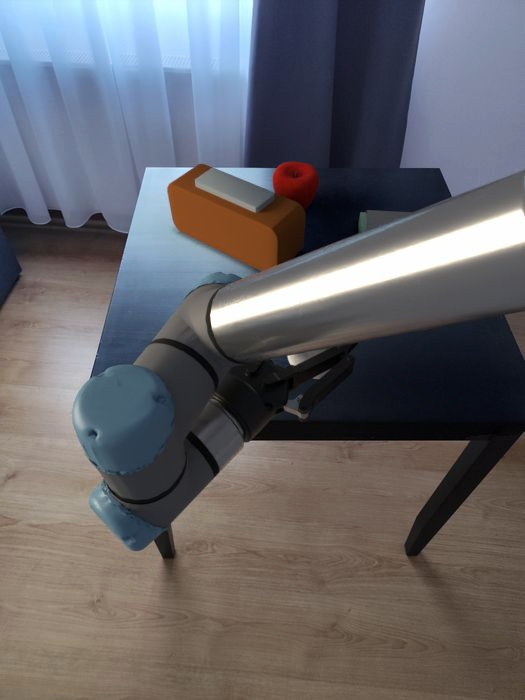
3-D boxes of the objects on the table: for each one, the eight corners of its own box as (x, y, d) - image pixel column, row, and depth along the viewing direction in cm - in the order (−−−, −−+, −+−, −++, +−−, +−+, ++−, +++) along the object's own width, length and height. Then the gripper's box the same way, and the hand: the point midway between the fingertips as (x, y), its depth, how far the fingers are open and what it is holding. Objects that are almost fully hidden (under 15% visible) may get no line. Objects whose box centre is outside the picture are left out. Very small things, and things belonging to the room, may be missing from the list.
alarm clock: (303, 254, 86) (307, 198, 77) (276, 280, 81) (278, 224, 72) (201, 207, 94) (195, 153, 86) (173, 229, 90) (163, 174, 81)
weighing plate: (433, 251, 82) (434, 248, 81) (368, 247, 82) (368, 244, 82) (426, 215, 88) (427, 213, 87) (366, 212, 88) (366, 209, 88)
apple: (262, 205, 95) (262, 168, 89) (294, 187, 99) (296, 152, 92) (294, 225, 91) (296, 188, 85) (326, 206, 94) (330, 170, 88)
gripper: (168, 391, 59) (285, 291, 70) (290, 489, 51) (400, 359, 62) (157, 354, 53) (286, 251, 64) (292, 457, 45) (414, 320, 56)
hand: (342, 304), depth 63 cm, fingers closed on beverage can, 6 cm apart
